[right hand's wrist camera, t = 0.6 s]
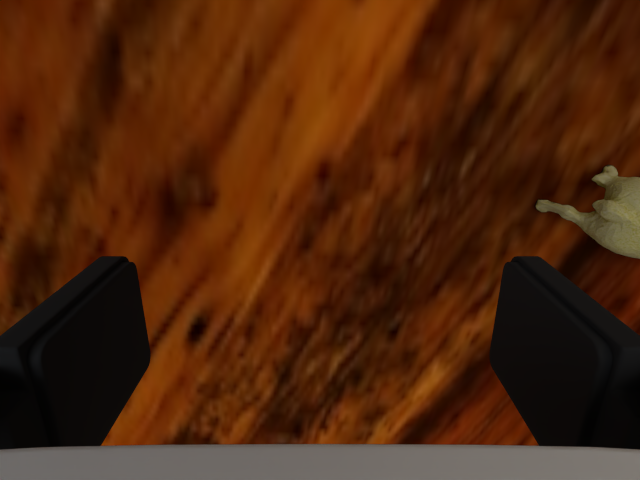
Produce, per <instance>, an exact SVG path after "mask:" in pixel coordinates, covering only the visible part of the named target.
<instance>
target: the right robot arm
mask: <svg viewBox="0 0 640 480" xmlns="http://www.w3.org/2000/svg"><path fill="white" fill-rule="evenodd" d="M149 363H150V347H149V341H148V335H147V329H146V323H145V317H144V311H143V305H142V299H141V293H140V286H139V280H138V274H137V269H136V265H135V264H134V263H133V262H129V261H128V259H127V258H126V257H123V256H102V257H100V258H98V259H97V260H96V261H94V262H93V263H92V264H91V265H89V266H88V267H87V268H86V269H84V270H83V271H82V272H80V273H79V274H78V275H77V276H75V277H74V278H73V279H72V280H70V281H69V282H68V283H67V284H65V285H64V286H63V287H62V288H60V289H59V290H58V291H56V292H55V293H54V294H53V295H51V296H50V297H49V298H48V299H46V300H45V301H44V302H43V303H41V304H40V305H39V306H38V307H36V308H35V309H34V310H32V311H31V312H30V313H29V314H27V315H26V316H25V317H24V318H22V319H21V320H20V321H19V322H17V323H16V324H15V325H14V326H12V327H11V328H10V329H8V330H7V331H6V332H5V333H3V334H2V335H1V336H0V480H640V336H639V335H638V334H637V333H635V332H634V331H633V330H632V329H630V328H629V327H628V326H626V325H625V324H624V323H623V322H621V321H620V320H619V319H618V318H616V317H615V316H614V315H613V314H611V313H610V312H609V311H608V310H606V309H605V308H604V307H602V306H601V305H600V304H599V303H597V302H596V301H595V300H594V299H592V298H591V297H590V296H589V295H587V294H586V293H585V292H584V291H582V290H581V289H580V288H578V287H577V286H576V285H575V284H573V283H572V282H571V281H570V280H568V279H567V278H566V277H565V276H563V275H562V274H561V273H560V272H558V271H557V270H556V269H554V268H553V267H552V266H551V265H549V264H548V263H547V262H546V261H544V260H543V259H542V258H540V257H538V256H517V257H514V258H513V259H512V260H511V262H507V263H506V264H505V265H504V269H503V274H502V280H501V286H500V293H499V299H498V305H497V311H496V317H495V323H494V329H493V335H492V341H491V347H490V363H491V366H492V368H493V370H494V371H495V373H496V375H497V376H498V378H499V380H500V381H501V383H502V385H503V386H504V388H505V390H506V391H507V393H508V395H509V396H510V398H511V400H512V401H513V403H514V405H515V406H516V408H517V409H518V411H519V413H520V414H521V416H522V418H523V419H524V421H525V423H526V424H527V426H528V428H529V429H530V431H531V433H532V434H533V436H534V438H535V439H536V441H537V443H538V444H539V446H510V445H399V444H241V445H130V446H101V444H102V443H103V441H104V439H105V438H106V436H107V434H108V433H109V431H110V429H111V428H112V426H113V424H114V423H115V421H116V419H117V418H118V416H119V414H120V413H121V411H122V409H123V408H124V406H125V405H126V403H127V401H128V400H129V398H130V396H131V395H132V393H133V391H134V390H135V388H136V386H137V385H138V383H139V381H140V380H141V378H142V376H143V375H144V373H145V371H146V370H147V368H148V366H149Z"/></svg>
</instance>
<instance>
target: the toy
mask: <svg viewBox="0 0 640 480" xmlns="http://www.w3.org/2000/svg"><path fill="white" fill-rule="evenodd" d="M592 181H594V182H596V183H597V184H598V185H599V186H601V187H604V188H605V189H606V192H605V197H604V199H603V200H598V201H596V202H594V203H593V205H592V206H593V207H594V209H595V210H596V211H593V212H590V213H581V212H578V211H577V210H576V209H575V208H574V207H572V206H569V205H561V204H558V203H553V202H550V201H548V200H538V201H537V202H536V205H535V207H536V208H537V210H538V211H541V212H547V211H552V212H555V213H558V214H559V215H560V216H561V217H562V218H564V219H566V220H571V221H573V222H574V223H576V224H577V225H578V226H580V227H581V228H582V229H583V231H584V232H586V233H587V234H588V235H590V236H591V237H592V238H593V239H595V240H596V241H597V242H598V243H599V244H600V245H602V246H603V247H605V248H607V249H609V250H611V251H613V252H615V253H617V254H621V255H624V256H628V257H633V258H639V259H640V178H639V177H630V178H627V177H618V172H617V170H616V168H615V167H613V166H611V165H607V166H605V167H604V168H603V170H602V172H601V173H600V174H598V175H596V176H594V177H593V178H592Z"/></svg>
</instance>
